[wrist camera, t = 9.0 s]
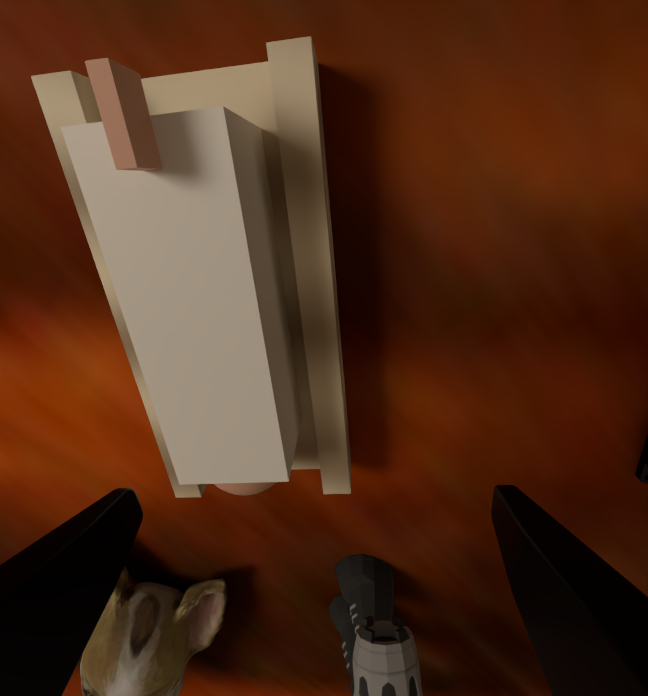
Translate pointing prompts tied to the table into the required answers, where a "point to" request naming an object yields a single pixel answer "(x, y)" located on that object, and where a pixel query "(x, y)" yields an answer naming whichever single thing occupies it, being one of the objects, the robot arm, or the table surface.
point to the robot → (374, 630)
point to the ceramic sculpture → (150, 637)
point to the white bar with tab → (194, 278)
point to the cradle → (289, 216)
